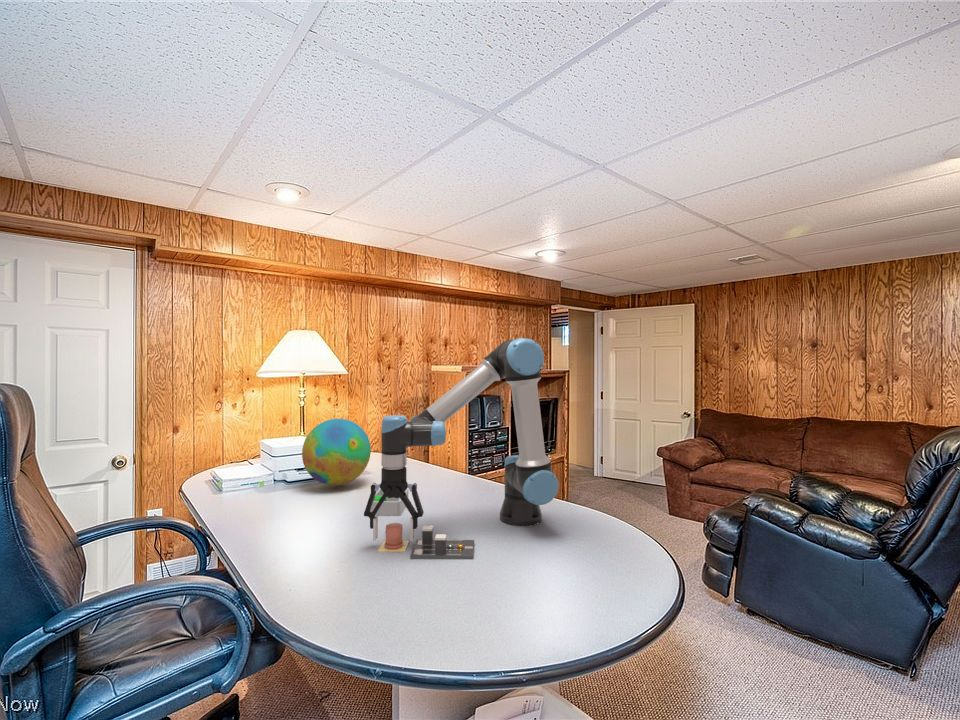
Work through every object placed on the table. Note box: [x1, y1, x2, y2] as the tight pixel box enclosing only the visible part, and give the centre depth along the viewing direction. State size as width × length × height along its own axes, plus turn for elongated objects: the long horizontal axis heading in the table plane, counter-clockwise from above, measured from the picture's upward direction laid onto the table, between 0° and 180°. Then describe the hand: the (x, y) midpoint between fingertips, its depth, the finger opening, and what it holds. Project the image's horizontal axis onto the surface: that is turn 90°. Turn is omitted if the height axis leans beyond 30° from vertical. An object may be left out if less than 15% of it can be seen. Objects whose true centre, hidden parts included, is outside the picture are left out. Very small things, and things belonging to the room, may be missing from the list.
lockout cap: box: [385, 522, 404, 549], centre depth 142 cm, size 6×6×6 cm
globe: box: [301, 418, 372, 487], centre depth 214 cm, size 30×30×30 cm
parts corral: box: [370, 488, 409, 517], centre depth 181 cm, size 12×18×5 cm, turn 179°
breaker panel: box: [409, 538, 475, 560], centre depth 139 cm, size 18×12×2 cm, turn 89°
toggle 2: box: [434, 533, 447, 554], centre depth 136 cm, size 3×3×5 cm
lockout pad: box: [377, 540, 410, 553], centre depth 142 cm, size 8×8×1 cm
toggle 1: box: [421, 525, 434, 544], centre depth 143 cm, size 3×3×5 cm
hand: (393, 539), depth 142 cm, fingers open, 10 cm apart
